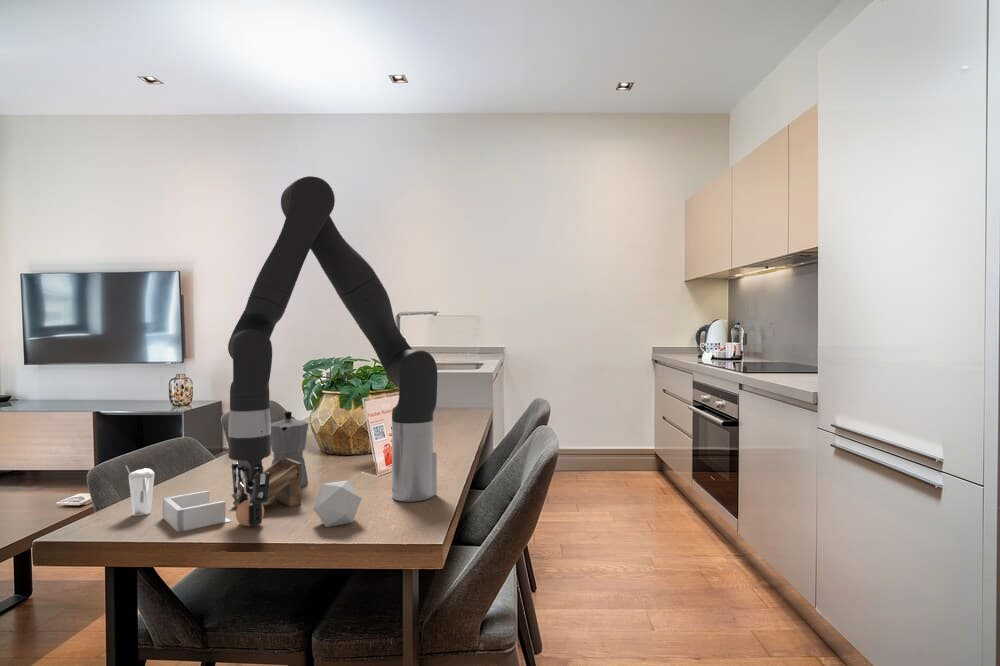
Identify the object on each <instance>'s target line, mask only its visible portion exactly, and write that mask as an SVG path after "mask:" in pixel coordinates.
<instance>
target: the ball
mask: <svg viewBox="0 0 1000 666" xmlns="http://www.w3.org/2000/svg"><path fill="white" fill-rule="evenodd" d="M264 515H265V508H264V505H263V504H262V519H263V517H264ZM235 518H236V520H237V522H238V523H239V524H240V525H242V526H244V527H252V526H251V525H249V504H248V500H245V501H243V502H242V503H241V504H240V505H239V506H238V508H237V507H236V510H235Z"/></svg>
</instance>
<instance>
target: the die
mask: <svg viewBox="0 0 1000 666" xmlns="http://www.w3.org/2000/svg"><path fill="white" fill-rule="evenodd" d="M362 499H363V498H362V497H361V496H360V494H359V493H358V492H357V490H356V489H355V488H354V486H353V485H352V484H351V483H350V481H349V480H342V481H340V480H339V481H333V482H325V483H322V484H321V485H320V488H319V491H318V493H317V496H316V499H315V501H314V504H313V505H312V506H313V507H312V510H313V511H314V513H315V514H316V515H317V518H319V519H320V521H321V522H322V524H323V525H324V527H325V528H331V527H336V526H342V525H348V524H352V523H353V521H354V520H355V517H356V515H357V512H358V509H359V506H360V504H361V501H362Z"/></svg>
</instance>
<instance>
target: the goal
mask: <svg viewBox="0 0 1000 666" xmlns="http://www.w3.org/2000/svg"><path fill="white" fill-rule="evenodd" d="M210 495H211V493H210V490H204V491H203V490H202V491H196V492H191V493H186V494H180V495H173V496H168V497H163V498H162V519H163V520H164V521H165V522H166V523H168V525H169V526H171V527H172V528H173V530H175V532H177V533H180V532H186V531H191V530H195V529H199V528H204V527H209V526H214V525H219V524H225V523H224V522H225V521H226V518H227V516H226V508H227V506H226V503H227V502H226V501H225V500H221V501H216V502H210V501H211V500H210V499H211V498H210V497H211V496H210Z"/></svg>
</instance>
